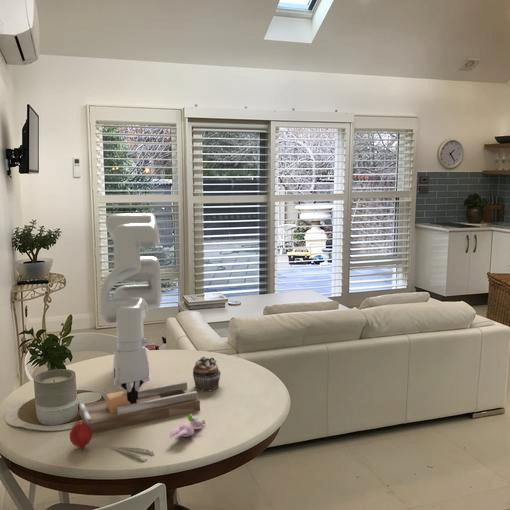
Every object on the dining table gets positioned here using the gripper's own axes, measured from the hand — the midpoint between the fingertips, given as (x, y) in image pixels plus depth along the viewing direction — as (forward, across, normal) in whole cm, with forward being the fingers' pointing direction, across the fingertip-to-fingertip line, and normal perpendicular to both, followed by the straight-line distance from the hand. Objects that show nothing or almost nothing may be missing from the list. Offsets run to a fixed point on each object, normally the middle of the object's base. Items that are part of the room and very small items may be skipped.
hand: (132, 402), depth 166 cm
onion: (+4, +18, +14) cm, 23 cm away
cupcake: (+4, -28, -9) cm, 30 cm away
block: (+1, +5, 0) cm, 5 cm away
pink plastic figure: (+4, -10, +21) cm, 23 cm away
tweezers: (+5, +8, +20) cm, 23 cm away
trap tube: (+4, -2, 0) cm, 4 cm away
